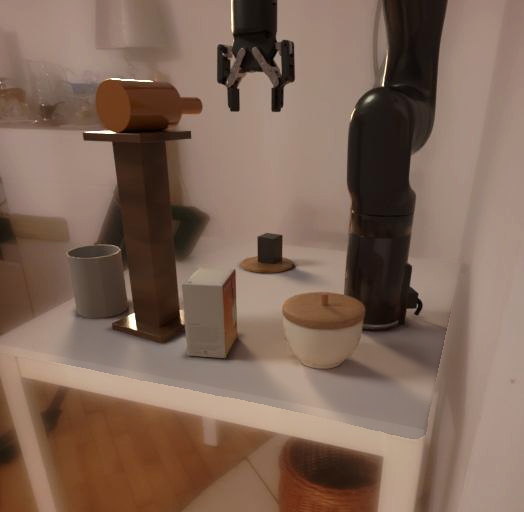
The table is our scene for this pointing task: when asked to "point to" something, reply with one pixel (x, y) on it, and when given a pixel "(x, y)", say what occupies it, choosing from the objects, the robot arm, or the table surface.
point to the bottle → (142, 105)
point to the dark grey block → (270, 248)
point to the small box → (210, 311)
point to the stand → (147, 230)
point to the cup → (98, 280)
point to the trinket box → (322, 327)
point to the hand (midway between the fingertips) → (255, 111)
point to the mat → (266, 265)
